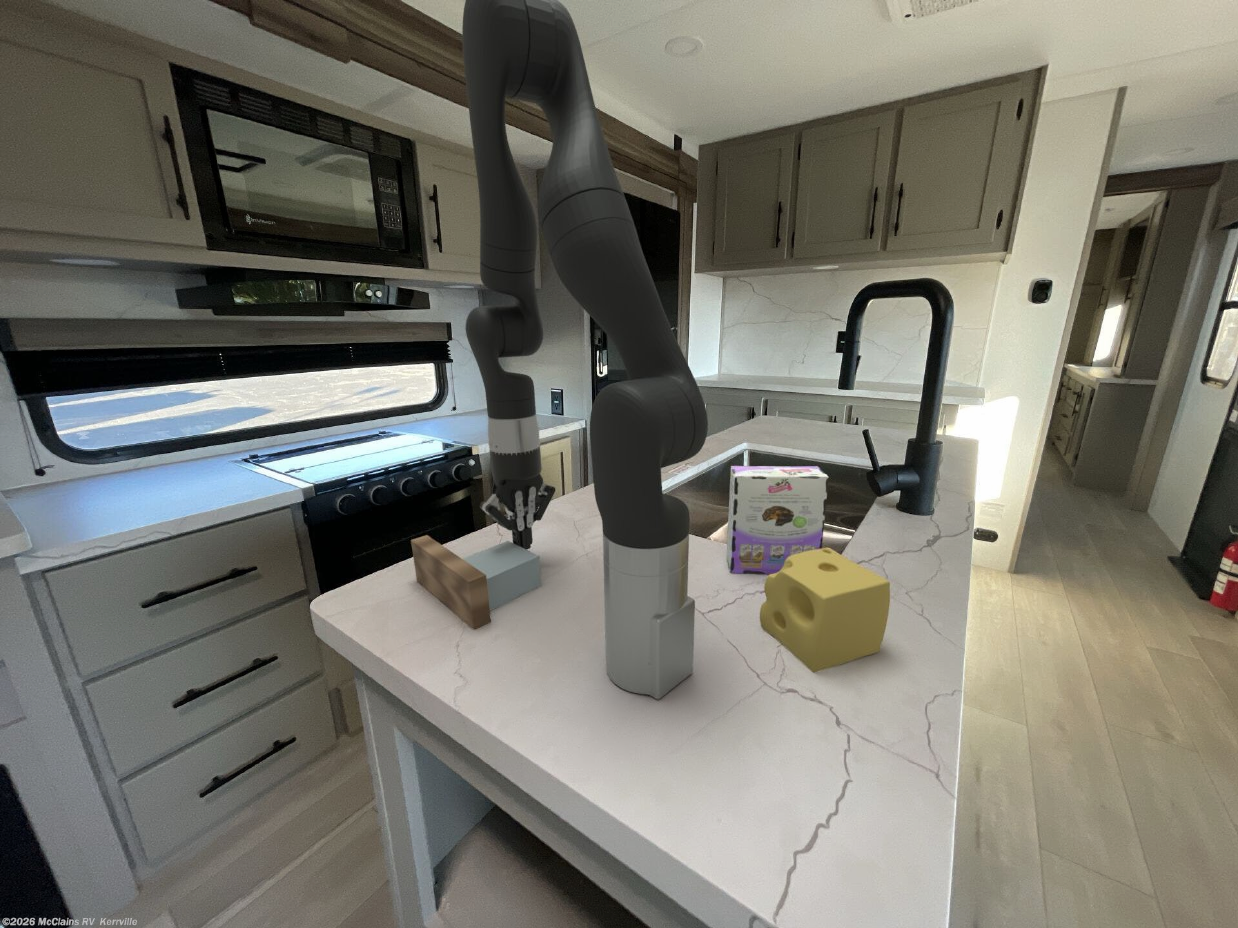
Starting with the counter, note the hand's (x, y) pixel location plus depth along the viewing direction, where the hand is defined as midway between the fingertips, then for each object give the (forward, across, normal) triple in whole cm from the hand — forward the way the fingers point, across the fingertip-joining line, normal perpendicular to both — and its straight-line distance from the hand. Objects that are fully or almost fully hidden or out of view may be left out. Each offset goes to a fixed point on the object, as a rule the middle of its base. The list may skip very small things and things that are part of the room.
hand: (523, 548), depth 80 cm
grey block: (+4, -6, -2) cm, 8 cm away
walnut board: (+4, -13, 0) cm, 13 cm away
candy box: (+4, +28, -28) cm, 40 cm away
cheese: (+4, +15, -42) cm, 45 cm away
